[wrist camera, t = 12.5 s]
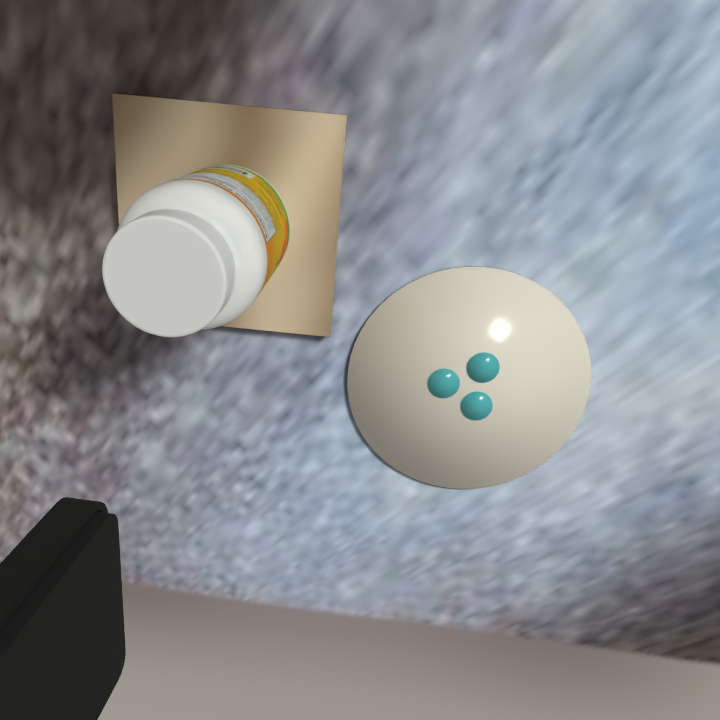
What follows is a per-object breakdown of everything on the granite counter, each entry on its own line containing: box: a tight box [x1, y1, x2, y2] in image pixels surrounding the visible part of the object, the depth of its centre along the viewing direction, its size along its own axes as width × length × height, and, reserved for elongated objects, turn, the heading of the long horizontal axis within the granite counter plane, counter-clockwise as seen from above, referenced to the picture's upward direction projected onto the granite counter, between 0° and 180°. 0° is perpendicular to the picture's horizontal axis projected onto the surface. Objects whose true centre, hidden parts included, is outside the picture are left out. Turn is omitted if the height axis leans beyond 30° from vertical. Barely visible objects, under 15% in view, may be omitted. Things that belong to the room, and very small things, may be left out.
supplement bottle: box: [102, 165, 290, 337], centre depth 25 cm, size 5×5×10 cm
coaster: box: [347, 266, 591, 489], centre depth 32 cm, size 12×12×1 cm
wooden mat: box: [112, 94, 347, 337], centre depth 30 cm, size 10×10×1 cm
